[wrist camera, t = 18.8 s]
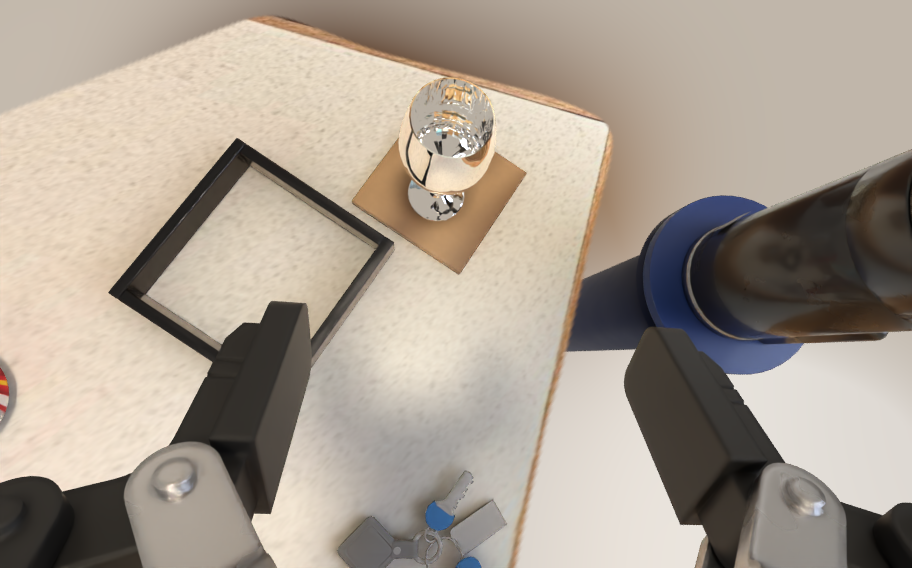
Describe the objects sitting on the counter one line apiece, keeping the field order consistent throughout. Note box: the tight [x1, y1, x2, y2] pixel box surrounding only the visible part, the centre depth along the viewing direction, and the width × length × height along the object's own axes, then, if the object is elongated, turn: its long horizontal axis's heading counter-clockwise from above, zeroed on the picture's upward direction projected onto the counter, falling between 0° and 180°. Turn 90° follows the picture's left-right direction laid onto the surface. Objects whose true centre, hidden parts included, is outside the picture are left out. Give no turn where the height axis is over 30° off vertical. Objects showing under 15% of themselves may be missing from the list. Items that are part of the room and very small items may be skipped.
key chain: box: [337, 471, 507, 568], centre depth 33 cm, size 14×8×1 cm, turn 81°
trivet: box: [352, 138, 526, 274], centre depth 37 cm, size 10×10×1 cm
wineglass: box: [398, 78, 496, 221], centre depth 31 cm, size 6×6×12 cm
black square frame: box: [108, 138, 394, 368], centre depth 34 cm, size 14×14×2 cm
